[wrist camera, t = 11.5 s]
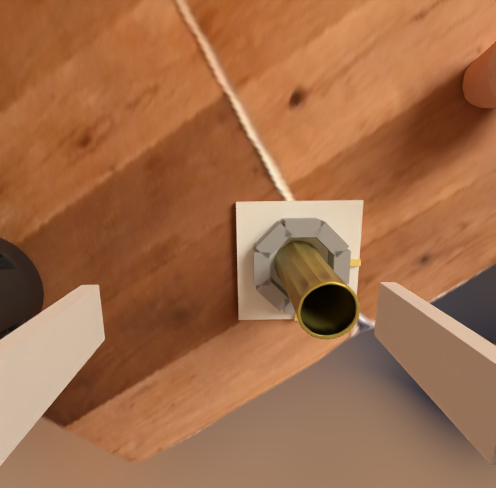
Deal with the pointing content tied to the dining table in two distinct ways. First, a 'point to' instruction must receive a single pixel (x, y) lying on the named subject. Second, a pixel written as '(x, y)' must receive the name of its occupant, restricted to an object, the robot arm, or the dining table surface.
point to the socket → (283, 232)
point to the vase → (316, 291)
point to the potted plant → (481, 80)
